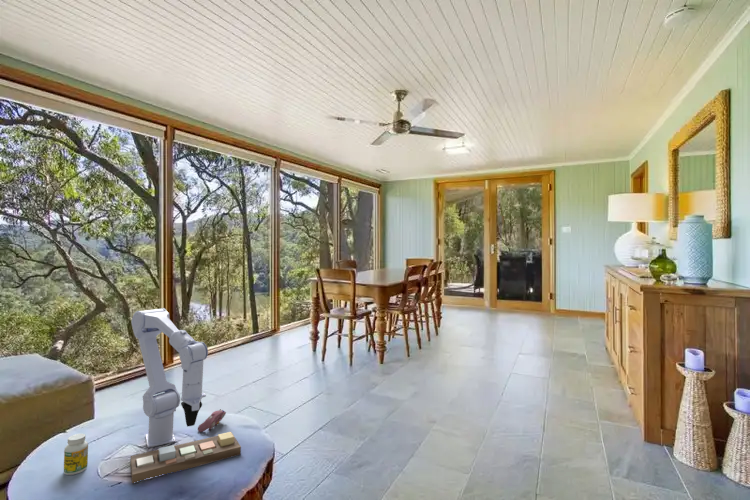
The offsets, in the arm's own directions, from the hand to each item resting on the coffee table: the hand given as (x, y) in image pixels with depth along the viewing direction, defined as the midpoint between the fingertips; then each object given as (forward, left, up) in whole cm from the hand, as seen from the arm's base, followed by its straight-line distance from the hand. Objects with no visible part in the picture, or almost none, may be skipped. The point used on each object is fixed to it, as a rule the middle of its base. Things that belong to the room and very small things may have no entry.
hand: (190, 425), depth 119 cm
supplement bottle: (-7, -29, -9) cm, 31 cm away
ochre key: (+3, +10, -7) cm, 13 cm away
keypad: (+3, -1, -9) cm, 10 cm away
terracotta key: (+3, +5, -9) cm, 10 cm away
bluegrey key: (+3, -7, -7) cm, 10 cm away
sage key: (+3, -1, -9) cm, 9 cm away
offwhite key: (+3, -12, -9) cm, 15 cm away
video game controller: (-15, +10, -9) cm, 20 cm away
